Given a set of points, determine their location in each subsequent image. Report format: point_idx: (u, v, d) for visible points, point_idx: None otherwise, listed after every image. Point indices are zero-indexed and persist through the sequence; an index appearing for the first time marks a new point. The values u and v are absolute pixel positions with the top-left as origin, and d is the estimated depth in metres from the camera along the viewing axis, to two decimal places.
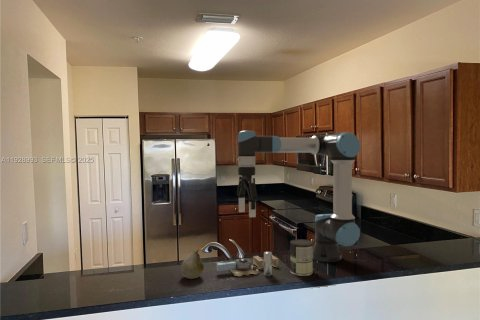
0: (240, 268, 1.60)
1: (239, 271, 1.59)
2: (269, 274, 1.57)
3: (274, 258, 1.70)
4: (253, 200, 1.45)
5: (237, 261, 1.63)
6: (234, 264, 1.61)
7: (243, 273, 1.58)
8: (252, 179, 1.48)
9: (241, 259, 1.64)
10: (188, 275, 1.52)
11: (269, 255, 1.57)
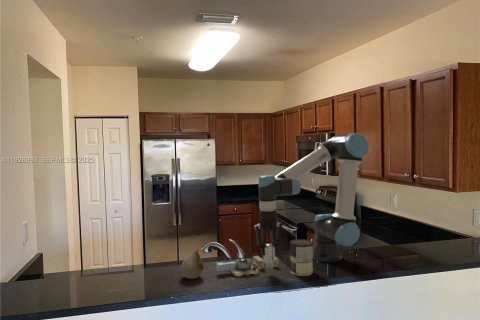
0: (240, 268, 1.60)
1: (239, 271, 1.59)
2: (271, 266, 1.58)
3: None
4: None
5: (237, 261, 1.63)
6: (234, 264, 1.61)
7: (243, 273, 1.58)
8: (255, 227, 1.56)
9: (241, 259, 1.64)
10: (188, 275, 1.52)
11: (270, 247, 1.57)
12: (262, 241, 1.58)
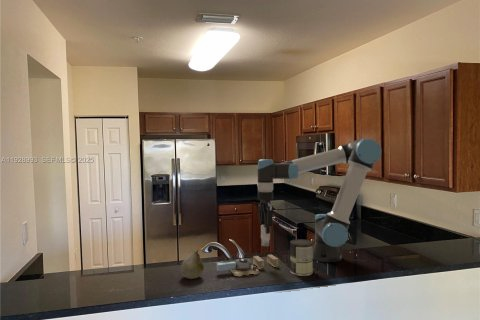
0: (240, 268, 1.60)
1: (239, 271, 1.59)
2: None
3: (274, 258, 1.70)
4: (268, 226, 1.66)
5: (237, 261, 1.63)
6: (234, 264, 1.61)
7: (243, 273, 1.58)
8: (271, 207, 1.65)
9: (241, 259, 1.64)
10: (188, 275, 1.52)
11: None
12: None
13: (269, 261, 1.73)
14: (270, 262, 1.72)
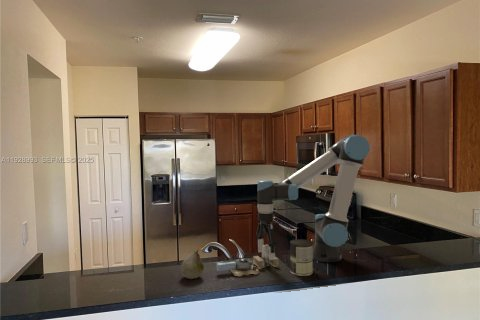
0: (240, 268, 1.60)
1: (239, 271, 1.59)
2: None
3: None
4: (273, 245, 1.62)
5: (237, 261, 1.63)
6: (234, 264, 1.61)
7: (243, 273, 1.58)
8: (271, 225, 1.65)
9: (241, 259, 1.64)
10: (188, 275, 1.52)
11: None
12: None
13: (269, 261, 1.73)
14: (270, 262, 1.72)
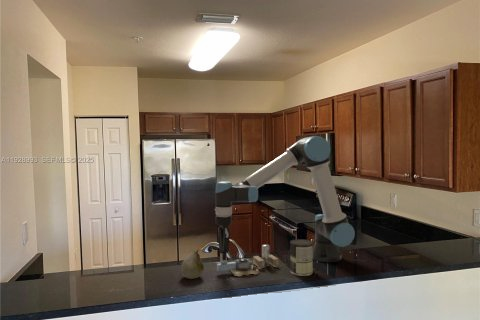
0: (240, 268, 1.60)
1: (239, 271, 1.59)
2: None
3: (274, 258, 1.70)
4: (224, 252, 1.58)
5: (237, 261, 1.63)
6: (234, 264, 1.61)
7: (243, 273, 1.58)
8: (227, 235, 1.56)
9: (241, 259, 1.63)
10: (188, 275, 1.52)
11: None
12: None
13: (269, 261, 1.73)
14: (270, 262, 1.72)
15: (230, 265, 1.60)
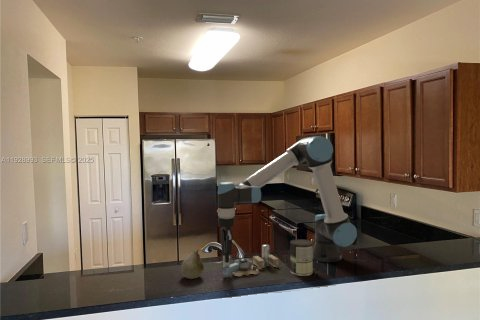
0: (244, 268, 1.60)
1: (239, 271, 1.59)
2: None
3: (274, 258, 1.70)
4: (226, 254, 1.55)
5: (238, 262, 1.62)
6: (238, 265, 1.59)
7: (243, 273, 1.58)
8: (230, 237, 1.52)
9: (241, 259, 1.63)
10: (188, 275, 1.52)
11: None
12: None
13: (269, 261, 1.73)
14: (270, 262, 1.72)
15: (235, 267, 1.58)
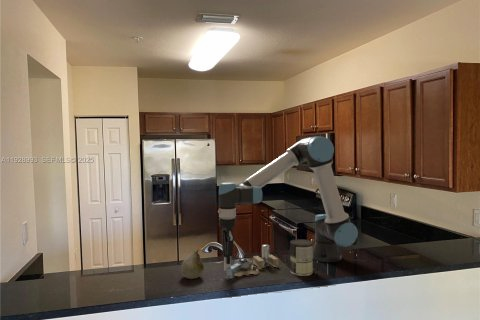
0: (246, 268, 1.60)
1: (239, 271, 1.59)
2: None
3: (274, 258, 1.70)
4: (228, 256, 1.53)
5: (239, 262, 1.61)
6: (240, 265, 1.59)
7: (243, 273, 1.58)
8: (231, 238, 1.50)
9: (241, 259, 1.63)
10: (188, 275, 1.52)
11: None
12: None
13: (269, 261, 1.73)
14: (270, 262, 1.72)
15: (238, 267, 1.57)
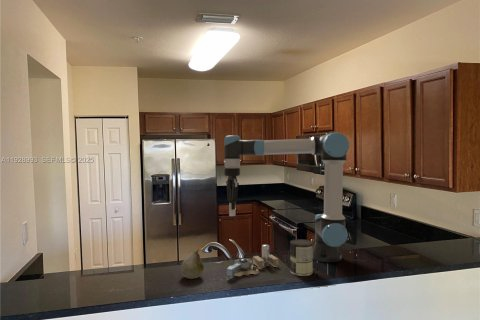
0: (246, 268, 1.60)
1: (239, 271, 1.59)
2: None
3: (274, 258, 1.70)
4: (233, 201, 1.68)
5: (239, 262, 1.61)
6: (240, 265, 1.59)
7: (243, 273, 1.58)
8: (236, 184, 1.66)
9: (241, 259, 1.63)
10: (188, 275, 1.52)
11: None
12: None
13: (269, 261, 1.73)
14: (270, 262, 1.72)
15: (238, 267, 1.57)
